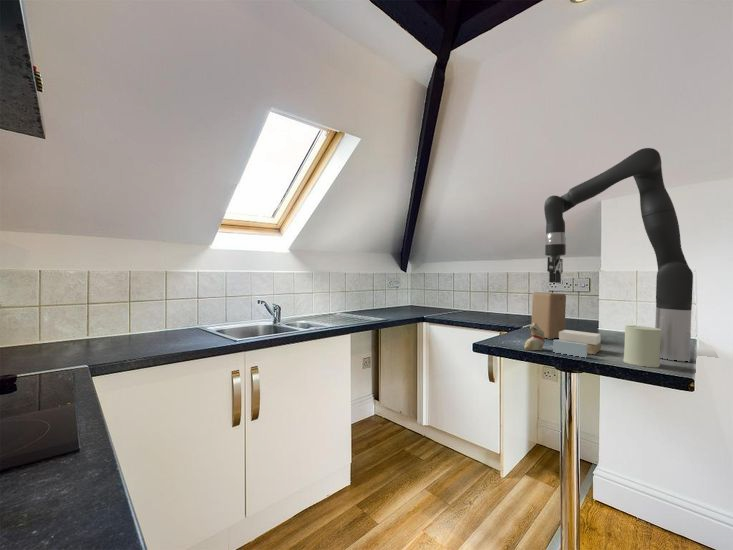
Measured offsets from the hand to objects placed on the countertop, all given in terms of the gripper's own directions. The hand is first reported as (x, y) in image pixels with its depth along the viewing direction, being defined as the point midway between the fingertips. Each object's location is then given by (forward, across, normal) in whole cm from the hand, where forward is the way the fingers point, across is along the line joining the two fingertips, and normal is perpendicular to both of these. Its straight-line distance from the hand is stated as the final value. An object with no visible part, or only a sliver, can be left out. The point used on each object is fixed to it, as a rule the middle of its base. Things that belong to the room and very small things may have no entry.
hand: (555, 282), depth 145 cm
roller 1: (+25, -12, -11) cm, 30 cm away
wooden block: (+25, +10, +5) cm, 27 cm away
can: (+26, -19, -30) cm, 44 cm away
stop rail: (+25, -25, -10) cm, 37 cm away
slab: (+22, -10, -11) cm, 26 cm away
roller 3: (+25, -6, -11) cm, 28 cm away
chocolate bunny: (+25, -25, +1) cm, 35 cm away
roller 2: (+25, -16, -10) cm, 32 cm away
